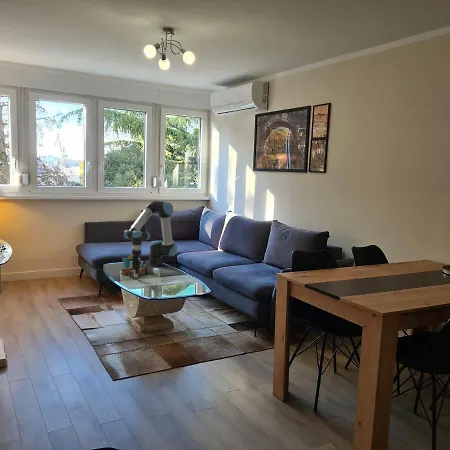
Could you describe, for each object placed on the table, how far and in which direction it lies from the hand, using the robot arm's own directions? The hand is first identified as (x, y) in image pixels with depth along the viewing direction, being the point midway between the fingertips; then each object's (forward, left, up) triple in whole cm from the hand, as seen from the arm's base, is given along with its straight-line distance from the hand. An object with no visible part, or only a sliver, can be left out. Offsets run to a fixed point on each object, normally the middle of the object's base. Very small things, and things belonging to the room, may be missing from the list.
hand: (135, 277), depth 370 cm
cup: (-6, -32, -2) cm, 32 cm away
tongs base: (-8, -16, -1) cm, 18 cm away
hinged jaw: (-6, -9, -1) cm, 11 cm away
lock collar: (-19, -15, -1) cm, 24 cm away
